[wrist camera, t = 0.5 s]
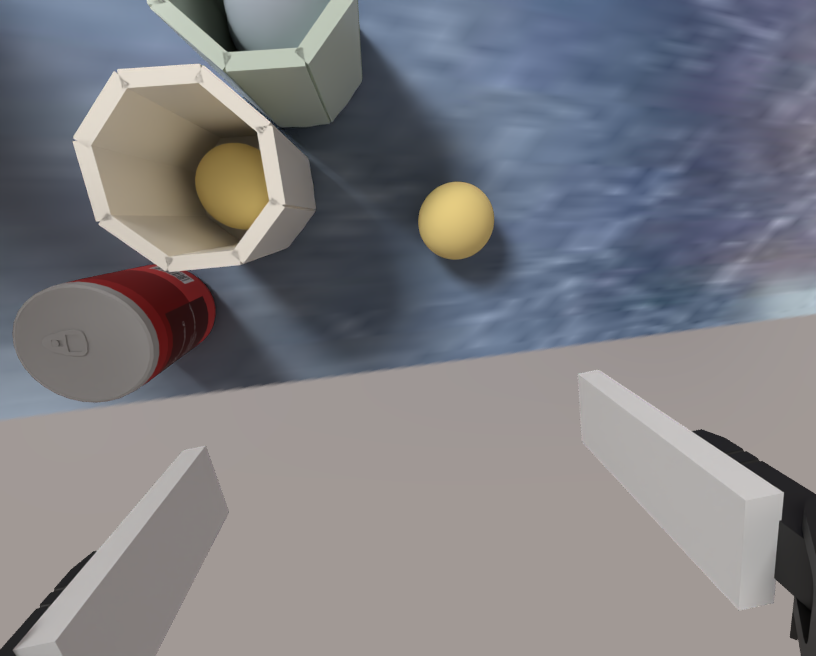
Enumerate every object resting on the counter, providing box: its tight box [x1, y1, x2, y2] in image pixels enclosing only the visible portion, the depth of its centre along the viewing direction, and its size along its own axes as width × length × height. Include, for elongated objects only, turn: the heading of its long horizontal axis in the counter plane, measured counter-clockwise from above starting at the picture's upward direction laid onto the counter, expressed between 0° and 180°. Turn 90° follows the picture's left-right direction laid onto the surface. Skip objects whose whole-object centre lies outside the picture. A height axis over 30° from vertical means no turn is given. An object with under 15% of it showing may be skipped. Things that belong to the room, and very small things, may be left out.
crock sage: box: [147, 0, 362, 128], centre depth 24 cm, size 10×10×13 cm
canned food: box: [12, 265, 215, 402], centre depth 29 cm, size 8×8×11 cm
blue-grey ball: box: [223, 0, 330, 51], centre depth 22 cm, size 6×6×6 cm
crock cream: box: [73, 64, 316, 272], centre depth 26 cm, size 10×10×13 cm
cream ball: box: [195, 143, 269, 230], centre depth 29 cm, size 6×6×6 cm
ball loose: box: [418, 182, 494, 260], centre depth 32 cm, size 6×6×6 cm
